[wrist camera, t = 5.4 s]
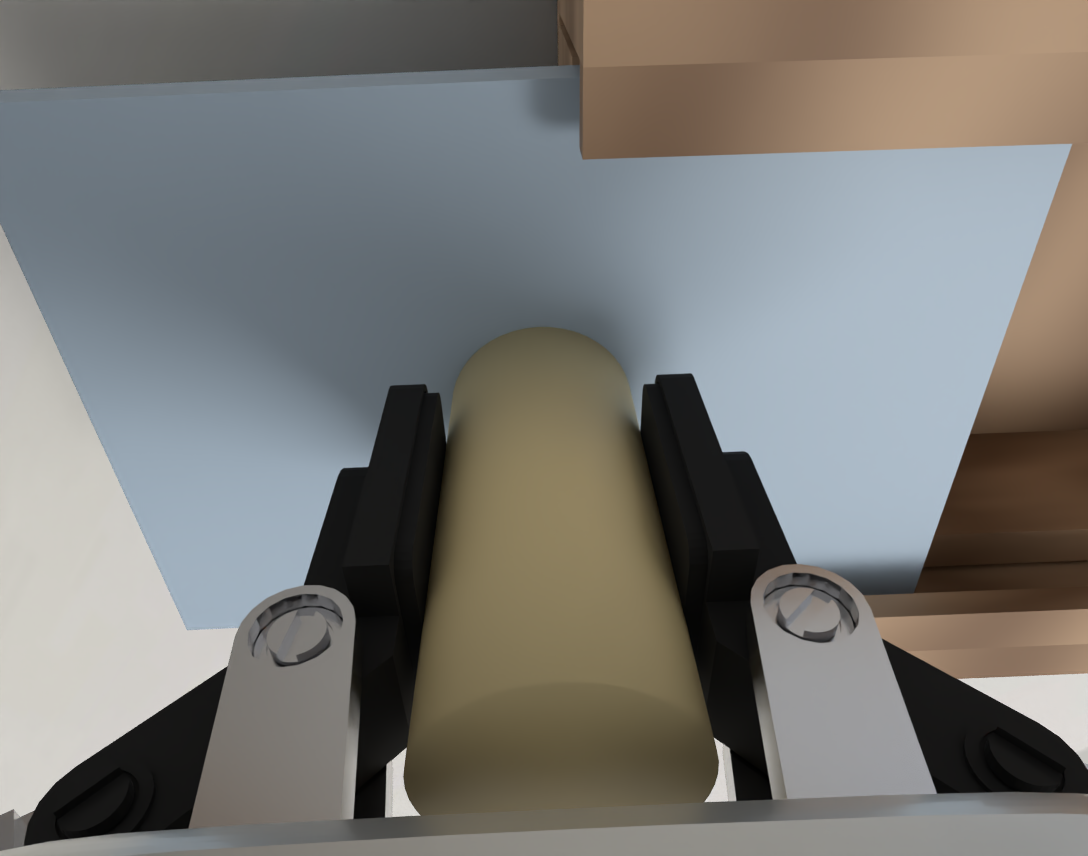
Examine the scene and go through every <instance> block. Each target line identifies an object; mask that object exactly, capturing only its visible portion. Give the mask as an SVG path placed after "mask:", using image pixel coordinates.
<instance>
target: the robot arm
mask: <svg viewBox="0 0 1088 856" xmlns="http://www.w3.org/2000/svg"><path fill="white" fill-rule="evenodd" d="M640 434H641V438H642V442H643V446H644V450H645V454H646V459H647V463H648V467H649V471H650V475H651V480H652V484H653V488H654V492H655V496H656V500H657V505H658V509H659V513H660V517H661V521H662V526H663V530H664V534H665V538H666V542H667V546H668V551H669V555H670V559H671V563H672V567H673V572H674V576H675V580H676V584H677V588H678V592H679V597H680V601H681V605H682V609H683V613H684V617H685V620H686V624H687V628H688V632H689V637H690V641H691V645H692V649H693V653H694V657H695V662H696V666H697V670H698V674H699V678H700V683H701V687H702V691H703V695H704V699H705V703H706V708H707V712H708V716H709V720H710V724H711V728H712V733H713V737H714V738H716V739H717V740H718V741H720V742H721V743H723V761H724V769H725V777H726V786H727V794H728V802H703V803H680V804H658V805H636V806H614V807H592V808H570V809H549V810H528V811H507V812H486V813H464V814H443V815H424V816H405V817H392V802H393V764H392V759H394V758H395V757H396V756H397V755H398V754H399V753H401V752H402V751H403V750H404V749H405V748H406V747H407V743H408V736H409V728H410V720H411V713H412V705H413V697H414V689H415V682H416V674H417V666H418V659H419V651H420V643H421V636H422V629H423V621H424V614H425V606H426V598H427V590H428V583H429V575H430V567H431V560H432V552H433V544H434V536H435V529H436V521H437V513H438V506H439V498H440V490H441V482H442V475H443V467H444V459H445V452H446V444H447V443H446V435H445V428H444V420H443V412H442V404H441V397H440V394H439V393H428V390H427V386H426V385H425V384H415V385H392V386H390V388H389V390H388V394H387V398H386V402H385V405H384V409H383V413H382V417H381V421H380V424H379V428H378V432H377V436H376V439H375V443H374V447H373V451H372V455H371V458H370V462H369V466H368V467H354V468H343V469H342V470H340V473H339V475H338V477H337V480H336V483H335V487H334V490H333V493H332V496H331V499H330V503H329V506H328V509H327V512H326V515H325V518H324V522H323V525H322V528H321V531H320V534H319V538H318V541H317V544H316V547H315V550H314V554H313V557H312V560H311V563H310V566H309V569H308V573H307V576H306V579H305V582H304V585H302V586H298V587H294V588H290V589H285V590H283V591H281V592H279V593H276V594H274V595H272V596H270V597H268V598H266V599H265V600H264V601H262V602H261V603H260V604H258V605H257V606H256V607H254V608H253V609H252V610H251V611H250V612H249V614H248V615H247V616H246V617H245V618H244V619H243V621H242V622H241V624H240V626H239V629H238V631H237V633H236V635H235V639H234V643H233V647H232V651H231V655H230V659H229V663H228V666H227V667H226V668H224V669H223V670H221V671H220V672H218V673H217V674H215V675H214V676H212V677H211V678H209V679H208V680H206V681H205V682H203V683H202V684H200V685H198V686H197V687H195V688H194V689H192V690H191V691H189V692H188V693H186V694H185V695H183V696H182V697H180V698H179V699H177V700H176V701H174V702H173V703H171V704H170V705H168V706H167V707H165V708H164V709H162V710H161V711H159V712H158V713H156V714H155V715H153V716H152V717H150V718H149V719H147V720H146V721H144V722H143V723H141V724H140V725H138V726H137V727H135V728H134V729H132V730H131V731H129V732H128V733H126V734H125V735H123V736H122V737H120V738H119V739H117V740H116V741H114V742H113V743H111V744H109V745H108V746H106V747H105V748H103V749H102V750H100V751H99V752H97V753H96V754H94V755H93V756H91V757H90V758H88V759H87V760H85V761H84V762H82V763H81V764H79V765H78V766H76V767H75V768H74V769H72V770H71V771H70V772H69V773H67V774H66V775H65V776H64V777H62V778H61V779H60V780H59V781H57V782H56V783H55V784H54V785H53V787H52V788H51V789H50V790H49V791H48V792H47V794H46V795H45V796H44V797H43V798H42V800H41V801H40V802H39V803H38V805H37V807H36V809H35V811H33V812H30V813H28V814H26V815H24V816H22V817H20V816H19V815H18V814H17V813H16V812H15V810H14V809H13V810H11V811H9V812H7V813H4V814H2V815H0V856H1088V765H1087V764H1085V763H1083V762H1082V760H1081V759H1080V757H1079V756H1078V754H1077V753H1076V752H1075V751H1073V750H1072V749H1071V748H1070V747H1069V746H1068V745H1067V744H1066V743H1065V742H1064V741H1063V740H1062V739H1061V738H1060V737H1059V736H1057V735H1056V734H1054V733H1053V732H1051V731H1050V730H1048V729H1047V728H1045V727H1044V726H1042V725H1041V724H1039V723H1037V722H1036V721H1034V720H1032V719H1030V718H1028V717H1026V716H1024V715H1023V714H1021V713H1019V712H1017V711H1015V710H1013V709H1012V708H1010V707H1008V706H1006V705H1004V704H1002V703H1000V702H999V701H997V700H995V699H993V698H991V697H989V696H988V695H986V694H984V693H982V692H980V691H978V690H976V689H975V688H973V687H971V686H969V685H967V684H965V683H963V682H962V681H960V680H958V679H956V678H954V677H952V676H951V675H949V674H947V673H945V672H943V671H941V670H939V669H938V668H936V667H934V666H932V665H930V664H928V663H927V662H925V661H923V660H921V659H919V658H917V657H915V656H914V655H912V654H910V653H908V652H906V651H904V650H903V649H901V648H899V647H897V646H895V645H893V644H891V643H890V642H888V641H886V640H884V639H882V638H881V636H880V633H879V630H878V627H877V624H876V622H875V619H874V616H873V613H872V610H871V608H870V606H869V604H868V603H867V601H866V599H865V597H864V596H863V594H862V593H861V592H860V591H859V590H858V589H857V588H856V587H855V586H854V585H852V584H851V583H850V582H849V581H847V580H845V579H844V578H842V577H841V576H839V575H837V574H836V573H833V572H831V571H828V570H825V569H822V568H819V567H816V566H809V565H803V564H797V563H796V561H795V558H794V556H793V554H792V551H791V549H790V547H789V544H788V542H787V540H786V537H785V535H784V533H783V530H782V528H781V526H780V523H779V521H778V519H777V516H776V514H775V512H774V510H773V507H772V505H771V503H770V500H769V498H768V496H767V493H766V491H765V489H764V486H763V484H762V482H761V479H760V477H759V475H758V472H757V470H756V468H755V465H754V463H753V461H752V459H751V457H750V455H749V454H748V453H747V452H745V451H738V452H722V449H721V447H720V444H719V441H718V439H717V436H716V434H715V431H714V428H713V426H712V423H711V420H710V418H709V415H708V413H707V410H706V407H705V405H704V402H703V400H702V397H701V394H700V392H699V389H698V386H697V384H696V381H695V379H694V376H693V375H692V374H691V373H685V374H660V375H657V376H656V378H655V384H644V385H643V392H642V409H641V427H640Z"/></svg>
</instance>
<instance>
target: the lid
mask: <svg viewBox="0 0 1088 856" xmlns="http://www.w3.org/2000/svg"><path fill="white" fill-rule="evenodd" d="M579 127H580V65H563V66H541V67H518V68H495V69H473V70H450V71H427V72H404V73H382V74H359V75H336V76H314V77H291V78H268V79H246V80H223V81H200V82H177V83H155V84H132V85H109V86H87V87H64V88H41V89H18V90H0V224H1V226H2V228H3V230H4V232H5V234H6V237H7V239H8V241H9V243H10V245H11V248H12V250H13V252H14V254H15V256H16V258H17V261H18V263H19V265H20V267H21V269H22V271H23V274H24V276H25V278H26V280H27V282H28V285H29V287H30V289H31V291H32V293H33V295H34V298H35V300H36V302H37V304H38V306H39V309H40V311H41V313H42V315H43V317H44V319H45V322H46V324H47V326H48V328H49V330H50V332H51V335H52V337H53V339H54V341H55V343H56V346H57V348H58V350H59V352H60V354H61V356H62V359H63V361H64V363H65V365H66V367H67V370H68V372H69V374H70V376H71V378H72V380H73V383H74V385H75V387H76V389H77V391H78V393H79V396H80V398H81V400H82V402H83V404H84V407H85V409H86V411H87V413H88V415H89V417H90V420H91V422H92V424H93V426H94V428H95V431H96V433H97V435H98V437H99V439H100V441H101V444H102V446H103V448H104V450H105V452H106V454H107V457H108V459H109V461H110V463H111V465H112V468H113V470H114V472H115V474H116V476H117V478H118V481H119V483H120V485H121V487H122V489H123V492H124V494H125V496H126V498H127V500H128V502H129V505H130V507H131V509H132V511H133V513H134V515H135V518H136V520H137V522H138V524H139V526H140V529H141V531H142V533H143V535H144V537H145V539H146V542H147V544H148V546H149V548H150V550H151V553H152V555H153V557H154V559H155V561H156V563H157V566H158V568H159V570H160V572H161V574H162V576H163V579H164V581H165V583H166V585H167V587H168V590H169V592H170V594H171V596H172V598H173V600H174V603H175V605H176V607H177V609H178V611H179V614H180V616H181V618H182V620H183V622H184V624H185V627H186V629H187V630H200V629H221V628H239V626H240V624H241V622H242V621H243V619H244V618H245V617H246V616H247V615H248V614H249V612H250V611H251V610H252V609H253V608H254V607H256V606H257V605H258V604H260V603H261V602H262V601H264V600H265V599H266V598H268V597H270V596H272V595H274V594H276V593H279V592H281V591H283V590H285V589H290V588H294V587H298V586H302V585H304V582H305V579H306V576H307V573H308V569H309V566H310V563H311V560H312V557H313V554H314V550H315V547H316V544H317V541H318V538H319V534H320V531H321V528H322V525H323V522H324V518H325V515H326V512H327V509H328V506H329V503H330V499H331V496H332V493H333V490H334V487H335V483H336V480H337V477H338V475H339V473H340V470H342V469H343V468H354V467H368V466H369V462H370V458H371V455H372V451H373V447H374V443H375V439H376V436H377V432H378V428H379V424H380V421H381V417H382V413H383V409H384V405H385V402H386V398H387V394H388V390H389V388H390V386H392V385H415V384H425V385H426V386H427V390H428V393H439V394H440V397H441V404H442V412H443V420H444V428H445V435H446V443H447V444H446V452H445V459H444V467H443V475H442V482H441V490H440V498H439V506H438V513H437V521H436V529H435V536H434V544H433V552H432V560H431V567H430V575H429V583H428V590H427V598H426V606H425V614H424V621H423V629H422V636H421V643H420V651H419V659H418V666H417V674H416V682H415V689H414V697H413V705H412V713H411V720H410V728H409V736H408V743H407V751H406V759H405V767H404V785H405V790H406V792H407V795H408V798H409V800H410V801H411V803H412V805H413V806H414V808H415V809H416V811H417V812H418V813H419V814H420V815H421V816H424V815H443V814H464V813H486V812H507V811H528V810H549V809H570V808H592V807H614V806H636V805H658V804H680V803H703V802H704V801H705V800H706V799H707V797H708V796H709V794H710V793H711V791H712V789H713V787H714V785H715V782H716V778H717V775H718V766H719V760H718V755H717V749H716V745H715V741H714V737H713V733H712V728H711V724H710V720H709V716H708V712H707V708H706V703H705V699H704V695H703V691H702V687H701V683H700V678H699V674H698V670H697V666H696V662H695V657H694V653H693V649H692V645H691V641H690V637H689V632H688V628H687V624H686V620H685V617H684V613H683V609H682V605H681V601H680V597H679V592H678V588H677V584H676V580H675V576H674V572H673V567H672V563H671V559H670V555H669V551H668V546H667V542H666V538H665V534H664V530H663V526H662V521H661V517H660V513H659V509H658V505H657V500H656V496H655V492H654V488H653V484H652V480H651V475H650V471H649V467H648V463H647V459H646V454H645V450H644V446H643V442H642V438H641V434H640V427H641V409H642V392H643V385H644V384H655V378H656V376H657V375H660V374H685V373H691V374H692V375H693V376H694V379H695V381H696V384H697V386H698V389H699V392H700V394H701V397H702V400H703V402H704V405H705V407H706V410H707V413H708V415H709V418H710V420H711V423H712V426H713V428H714V431H715V434H716V436H717V439H718V441H719V444H720V447H721V449H722V452H738V451H745V452H747V453H748V454H749V455H750V457H751V459H752V461H753V463H754V465H755V468H756V470H757V472H758V475H759V477H760V479H761V482H762V484H763V486H764V489H765V491H766V493H767V496H768V498H769V500H770V503H771V505H772V507H773V510H774V512H775V514H776V516H777V519H778V521H779V523H780V526H781V528H782V530H783V533H784V535H785V537H786V540H787V542H788V544H789V547H790V549H791V551H792V554H793V556H794V558H795V561H796V563H797V564H803V565H809V566H816V567H819V568H822V569H825V570H828V571H831V572H833V573H836V574H837V575H839V576H841V577H842V578H844V579H845V580H847V581H849V582H850V583H851V584H852V585H854V586H855V587H856V588H857V589H858V590H859V591H860V592H861V593H862V594H863V595H886V594H911V593H914V591H915V588H916V585H917V582H918V579H919V577H920V574H921V571H922V568H923V565H924V562H925V560H926V557H927V554H928V551H929V548H930V545H931V543H932V540H933V537H934V534H935V531H936V528H937V526H938V523H939V520H940V517H941V514H942V511H943V509H944V506H945V503H946V500H947V497H948V494H949V492H950V489H951V486H952V483H953V480H954V477H955V475H956V472H957V469H958V466H959V463H960V460H961V458H962V455H963V452H964V449H965V446H966V443H967V441H968V438H969V435H970V432H971V429H972V426H973V424H974V421H975V418H976V415H977V412H978V409H979V407H980V404H981V401H982V398H983V395H984V392H985V390H986V387H987V384H988V381H989V378H990V375H991V373H992V370H993V367H994V364H995V361H996V358H997V356H998V353H999V350H1000V347H1001V344H1002V341H1003V339H1004V336H1005V333H1006V330H1007V327H1008V324H1009V322H1010V319H1011V316H1012V313H1013V310H1014V308H1015V305H1016V302H1017V299H1018V296H1019V293H1020V291H1021V288H1022V285H1023V282H1024V279H1025V276H1026V274H1027V271H1028V268H1029V265H1030V262H1031V259H1032V257H1033V254H1034V251H1035V248H1036V245H1037V242H1038V240H1039V237H1040V234H1041V231H1042V228H1043V225H1044V223H1045V220H1046V217H1047V214H1048V211H1049V208H1050V206H1051V203H1052V200H1053V197H1054V194H1055V191H1056V189H1057V186H1058V183H1059V180H1060V177H1061V174H1062V172H1063V169H1064V166H1065V163H1066V160H1067V157H1068V155H1069V152H1070V149H1071V146H1072V144H1048V145H1017V146H986V147H956V148H925V149H894V150H863V151H833V152H802V153H771V154H741V155H710V156H679V157H648V158H618V159H587V160H583V159H582V155H581V152H580V148H579Z"/></svg>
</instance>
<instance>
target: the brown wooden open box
mask: <svg viewBox="0 0 1088 856" xmlns="http://www.w3.org/2000/svg"><path fill="white" fill-rule="evenodd" d="M557 25H558V66H563V65H580V127H579V148H580V152H581V155H582V159H583V160H587V159H618V158H648V157H679V156H710V155H741V154H771V153H802V152H833V151H863V150H894V149H925V148H956V147H986V146H1017V145H1048V144H1072V146H1071V149H1070V152H1069V155H1068V157H1067V160H1066V163H1065V166H1064V169H1063V172H1062V174H1061V177H1060V180H1059V183H1058V186H1057V189H1056V191H1055V194H1054V197H1053V200H1052V203H1051V206H1050V208H1049V211H1048V214H1047V217H1046V220H1045V223H1044V225H1043V228H1042V231H1041V234H1040V237H1039V240H1038V242H1037V245H1036V248H1035V251H1034V254H1033V257H1032V259H1031V262H1030V265H1029V268H1028V271H1027V274H1026V276H1025V279H1024V282H1023V285H1022V288H1021V291H1020V293H1019V296H1018V299H1017V302H1016V305H1015V308H1014V310H1013V313H1012V316H1011V319H1010V322H1009V324H1008V327H1007V330H1006V333H1005V336H1004V339H1003V341H1002V344H1001V347H1000V350H999V353H998V356H997V358H996V361H995V364H994V367H993V370H992V373H991V375H990V378H989V381H988V384H987V387H986V390H985V392H984V395H983V398H982V401H981V404H980V407H979V409H978V412H977V415H976V418H975V421H974V424H973V426H972V429H971V432H970V435H969V438H968V441H967V443H966V446H965V449H964V452H963V455H962V458H961V460H960V463H959V466H958V469H957V472H956V475H955V477H954V480H953V483H952V486H951V489H950V492H949V494H948V497H947V500H946V503H945V506H944V509H943V511H942V514H941V517H940V520H939V523H938V526H937V528H936V531H935V534H934V537H933V540H932V543H931V545H930V548H929V551H928V554H927V557H926V560H925V562H924V565H923V568H922V571H921V574H920V577H919V579H918V582H917V585H916V588H915V591H914V593H911V594H886V595H863V596H864V597H865V599H866V601H867V603H868V604H869V606H870V608H871V610H872V613H873V616H874V619H875V622H876V624H877V627H878V630H879V633H880V636H881V638H882V639H884V640H886V641H888V642H890V643H891V644H893V645H895V646H897V647H899V648H901V649H903V650H904V651H906V652H908V653H910V654H912V655H914V656H915V657H917V658H919V659H921V660H923V661H925V662H927V663H928V664H930V665H932V666H934V667H936V668H938V669H939V670H941V671H943V672H945V673H947V674H949V675H951V676H952V677H954V678H956V679H963V678H987V677H1011V676H1034V675H1058V674H1082V673H1088V0H557Z"/></svg>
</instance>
